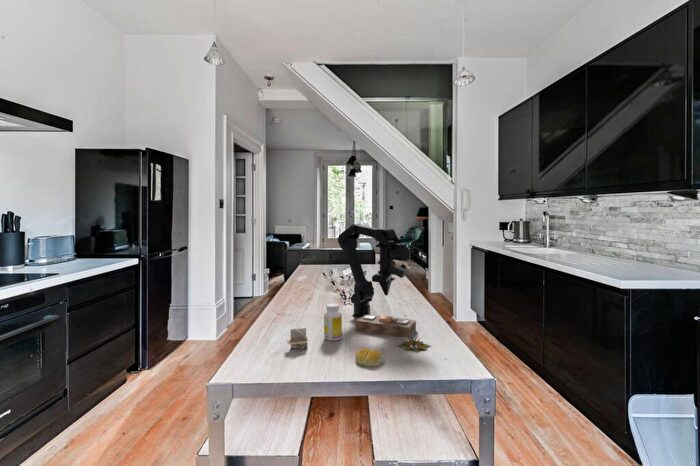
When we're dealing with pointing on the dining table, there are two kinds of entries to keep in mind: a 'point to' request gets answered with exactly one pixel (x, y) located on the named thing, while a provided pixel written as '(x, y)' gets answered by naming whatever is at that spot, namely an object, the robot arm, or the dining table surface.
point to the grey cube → (369, 317)
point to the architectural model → (298, 338)
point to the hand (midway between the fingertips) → (386, 295)
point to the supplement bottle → (332, 323)
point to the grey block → (402, 322)
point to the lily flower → (414, 342)
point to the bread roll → (369, 358)
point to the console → (386, 327)
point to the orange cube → (385, 319)
